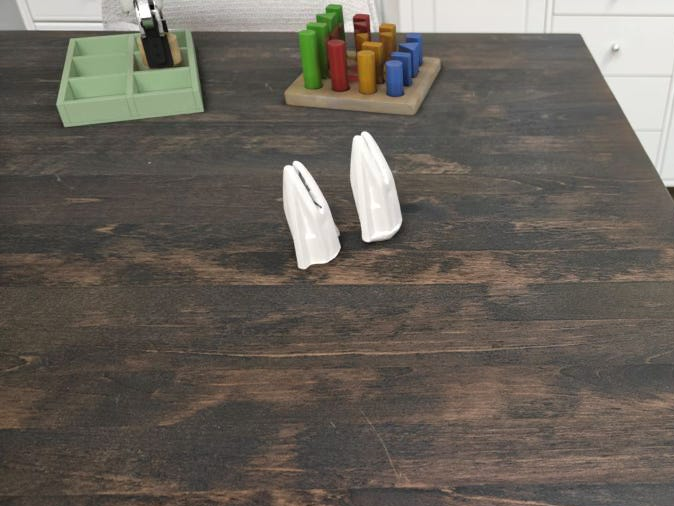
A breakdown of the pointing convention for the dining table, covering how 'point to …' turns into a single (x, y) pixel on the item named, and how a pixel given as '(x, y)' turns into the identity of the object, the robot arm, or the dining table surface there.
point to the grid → (125, 81)
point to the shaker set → (314, 214)
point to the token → (173, 47)
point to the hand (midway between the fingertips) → (161, 57)
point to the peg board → (360, 67)
